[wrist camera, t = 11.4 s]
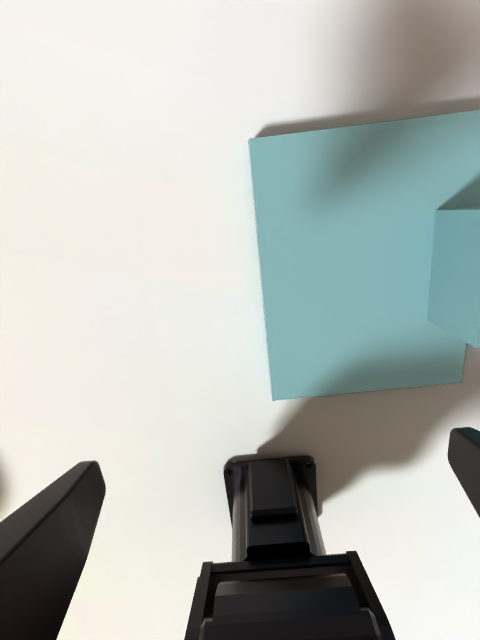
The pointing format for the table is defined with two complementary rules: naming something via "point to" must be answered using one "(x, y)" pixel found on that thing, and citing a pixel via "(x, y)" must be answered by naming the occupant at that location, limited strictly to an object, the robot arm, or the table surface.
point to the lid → (369, 253)
